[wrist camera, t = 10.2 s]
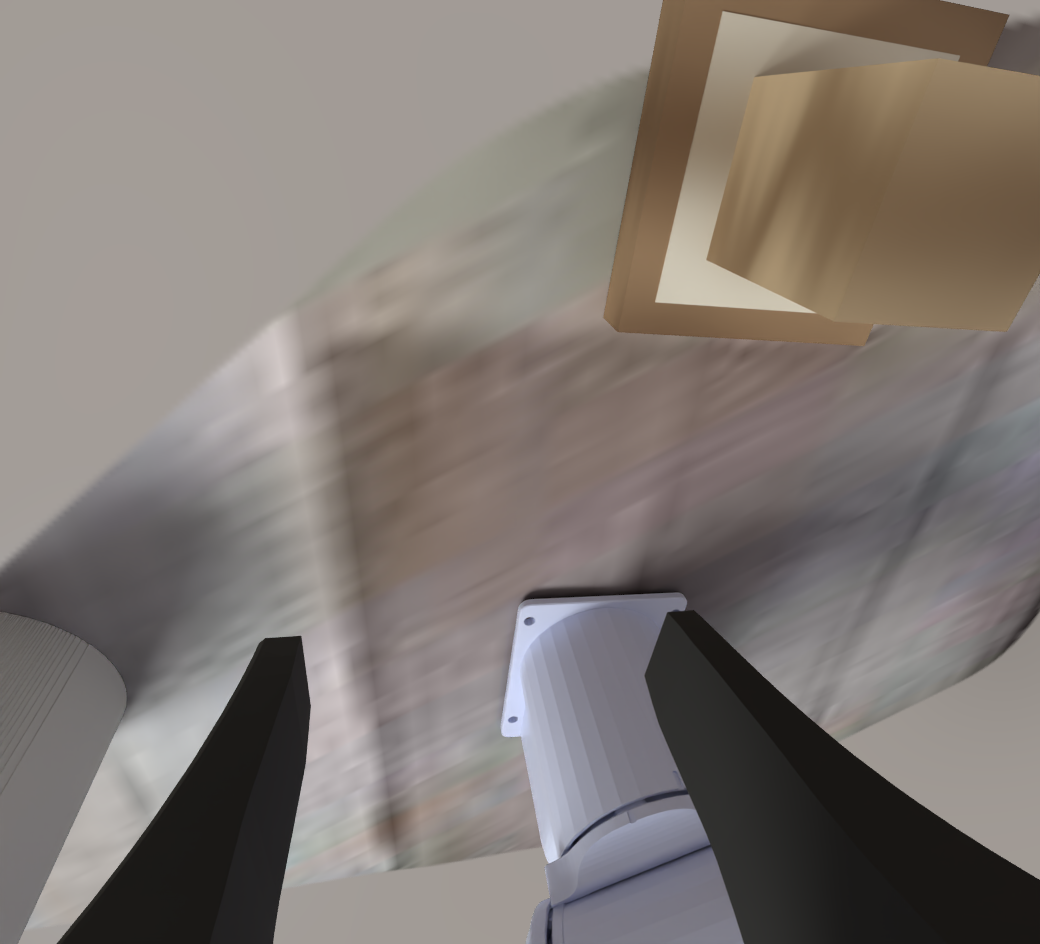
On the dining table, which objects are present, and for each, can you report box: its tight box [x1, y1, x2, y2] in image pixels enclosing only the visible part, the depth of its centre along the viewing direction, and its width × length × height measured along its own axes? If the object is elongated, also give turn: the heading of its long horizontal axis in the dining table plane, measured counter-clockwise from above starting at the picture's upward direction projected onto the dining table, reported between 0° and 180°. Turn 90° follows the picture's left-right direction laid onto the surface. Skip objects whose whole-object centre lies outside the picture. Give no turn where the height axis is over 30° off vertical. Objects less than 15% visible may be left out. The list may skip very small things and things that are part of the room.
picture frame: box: [603, 0, 1009, 346], centre depth 17 cm, size 9×9×2 cm
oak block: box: [706, 58, 1040, 332], centre depth 14 cm, size 4×4×6 cm
